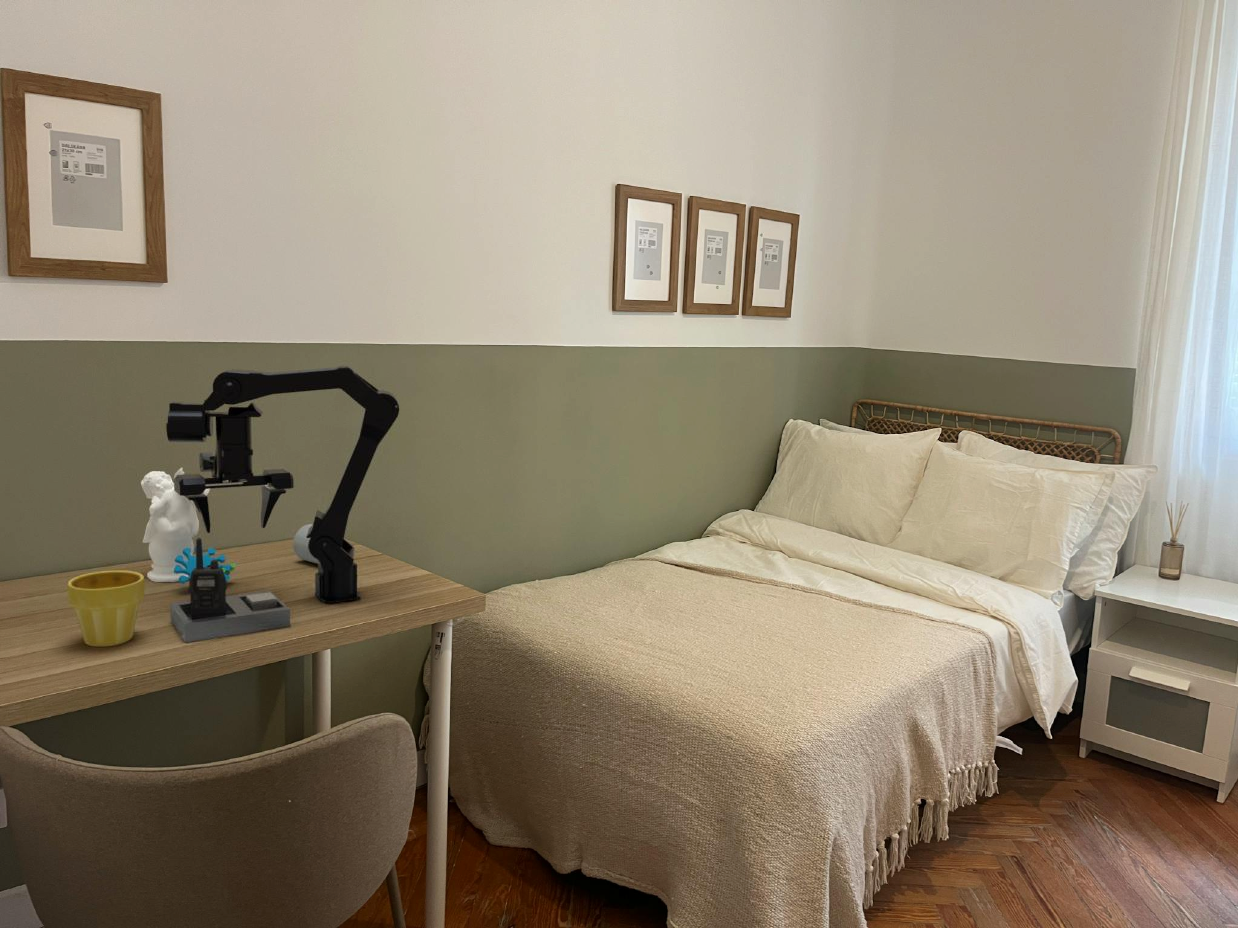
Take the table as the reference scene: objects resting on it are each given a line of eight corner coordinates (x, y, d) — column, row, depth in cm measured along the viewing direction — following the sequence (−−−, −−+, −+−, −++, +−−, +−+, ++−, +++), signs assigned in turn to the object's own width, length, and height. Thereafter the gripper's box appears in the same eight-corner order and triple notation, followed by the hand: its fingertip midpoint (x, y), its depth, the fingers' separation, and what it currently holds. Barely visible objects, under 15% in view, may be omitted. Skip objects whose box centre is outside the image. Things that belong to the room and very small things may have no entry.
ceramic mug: (317, 569, 188) (317, 532, 187) (292, 562, 193) (292, 526, 192) (359, 560, 197) (359, 525, 196) (334, 554, 202) (334, 519, 201)
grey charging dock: (270, 606, 164) (269, 590, 163) (290, 626, 154) (289, 608, 154) (170, 620, 155) (170, 603, 154) (185, 642, 145) (184, 623, 144)
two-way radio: (188, 630, 150) (185, 540, 148) (194, 621, 155) (191, 533, 152) (225, 629, 152) (222, 539, 149) (230, 620, 156) (227, 533, 154)
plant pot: (135, 650, 141) (133, 587, 140) (60, 652, 139) (56, 589, 137) (154, 627, 151) (151, 569, 149) (84, 630, 149) (81, 570, 147)
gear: (179, 589, 166) (172, 542, 171) (169, 607, 169) (162, 560, 174) (242, 588, 174) (233, 543, 178) (231, 604, 177) (222, 560, 182)
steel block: (270, 614, 160) (270, 592, 159) (277, 621, 157) (276, 598, 156) (246, 618, 158) (245, 595, 157) (252, 625, 154) (252, 601, 154)
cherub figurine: (137, 575, 180) (131, 462, 177) (200, 564, 189) (196, 457, 186) (165, 587, 172) (160, 470, 169) (229, 575, 182) (226, 464, 179)
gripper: (276, 434, 174) (277, 516, 176) (166, 438, 163) (169, 525, 165) (293, 442, 165) (295, 528, 167) (179, 447, 154) (182, 539, 156)
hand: (236, 529), depth 164 cm, fingers open, 9 cm apart
